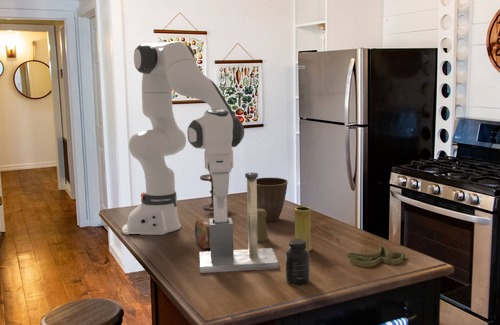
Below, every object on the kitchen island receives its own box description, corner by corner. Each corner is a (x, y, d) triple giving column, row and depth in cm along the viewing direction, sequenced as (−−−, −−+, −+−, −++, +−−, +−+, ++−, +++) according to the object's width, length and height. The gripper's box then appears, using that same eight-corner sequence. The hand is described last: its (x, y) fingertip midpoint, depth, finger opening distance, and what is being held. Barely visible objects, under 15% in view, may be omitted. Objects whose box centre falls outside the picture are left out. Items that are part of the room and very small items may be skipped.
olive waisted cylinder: (266, 241, 199) (266, 211, 197) (250, 241, 200) (249, 211, 198) (269, 236, 204) (269, 207, 203) (253, 236, 206) (252, 207, 204)
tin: (194, 240, 203) (193, 217, 201) (202, 238, 204) (202, 216, 202) (207, 252, 189) (206, 228, 187) (215, 251, 190) (215, 227, 188)
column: (215, 254, 174) (213, 191, 171) (214, 250, 178) (212, 188, 175) (228, 254, 175) (227, 191, 171) (227, 249, 179) (226, 188, 175)
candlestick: (196, 208, 248) (193, 130, 242) (215, 203, 255) (212, 127, 249) (211, 212, 240) (209, 131, 234) (230, 207, 247) (228, 129, 242)
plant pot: (295, 220, 225) (295, 181, 223) (265, 226, 217) (264, 186, 214) (273, 212, 238) (272, 176, 235) (244, 218, 229) (243, 180, 227)
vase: (313, 247, 191) (313, 206, 189) (309, 252, 186) (309, 211, 183) (296, 245, 193) (296, 205, 191) (291, 251, 188) (291, 210, 185)
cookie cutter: (387, 251, 187) (387, 245, 187) (411, 262, 176) (411, 256, 176) (341, 259, 180) (341, 253, 179) (363, 271, 169) (363, 265, 169)
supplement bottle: (284, 277, 165) (284, 238, 163) (307, 276, 165) (307, 237, 163) (287, 286, 158) (287, 245, 156) (311, 285, 158) (311, 244, 156)
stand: (200, 272, 170) (196, 180, 165) (199, 257, 183) (196, 171, 178) (278, 268, 172) (277, 177, 167) (272, 253, 186) (270, 168, 181)
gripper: (207, 157, 181) (209, 198, 184) (209, 168, 161) (211, 214, 164) (227, 156, 182) (228, 197, 184) (231, 167, 162) (232, 213, 164)
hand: (220, 205), depth 174 cm, fingers closed on column, 4 cm apart
